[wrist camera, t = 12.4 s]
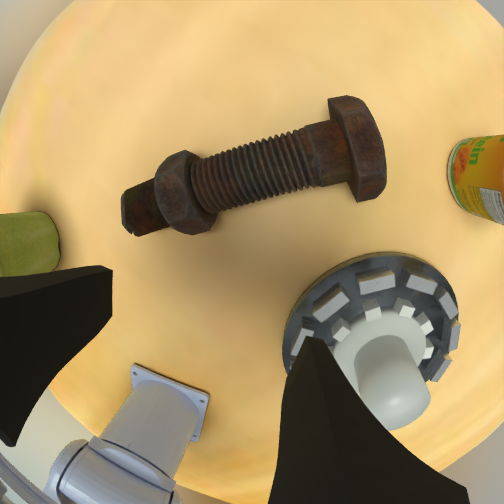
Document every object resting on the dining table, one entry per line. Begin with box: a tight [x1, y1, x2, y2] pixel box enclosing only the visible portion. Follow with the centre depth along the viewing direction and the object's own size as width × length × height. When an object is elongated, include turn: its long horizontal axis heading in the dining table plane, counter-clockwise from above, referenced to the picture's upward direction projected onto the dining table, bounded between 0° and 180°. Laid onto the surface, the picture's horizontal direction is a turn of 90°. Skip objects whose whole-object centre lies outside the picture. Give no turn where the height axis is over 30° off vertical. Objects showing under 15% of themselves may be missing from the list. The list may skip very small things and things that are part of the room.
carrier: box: [282, 252, 461, 382], centre depth 17 cm, size 14×14×2 cm
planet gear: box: [328, 297, 434, 431], centre depth 14 cm, size 8×8×6 cm
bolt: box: [121, 95, 387, 237], centre depth 14 cm, size 6×5×15 cm
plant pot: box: [0, 211, 60, 277], centre depth 17 cm, size 9×9×9 cm
